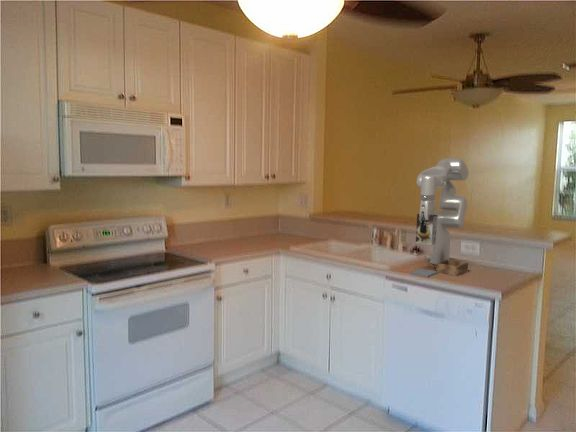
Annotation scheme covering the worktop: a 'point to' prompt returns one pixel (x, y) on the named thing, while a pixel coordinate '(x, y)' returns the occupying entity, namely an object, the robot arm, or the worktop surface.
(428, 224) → the coffee box
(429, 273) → the mat
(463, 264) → the holder
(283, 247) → the worktop surface
